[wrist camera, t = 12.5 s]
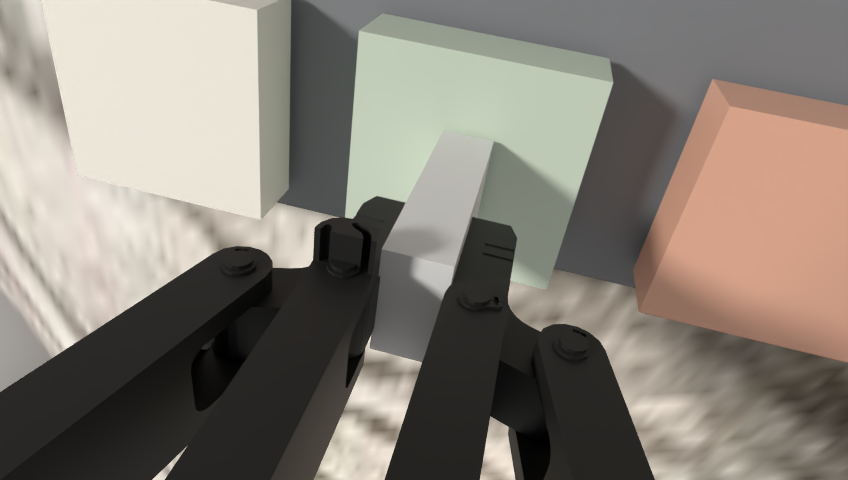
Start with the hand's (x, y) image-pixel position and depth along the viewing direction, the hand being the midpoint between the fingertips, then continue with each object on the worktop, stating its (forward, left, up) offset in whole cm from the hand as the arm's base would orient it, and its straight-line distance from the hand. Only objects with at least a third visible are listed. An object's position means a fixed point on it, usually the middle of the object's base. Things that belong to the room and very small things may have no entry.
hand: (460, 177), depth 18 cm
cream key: (-10, 0, -3) cm, 10 cm away
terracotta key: (+10, 0, -3) cm, 10 cm away
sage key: (0, 0, -3) cm, 3 cm away
